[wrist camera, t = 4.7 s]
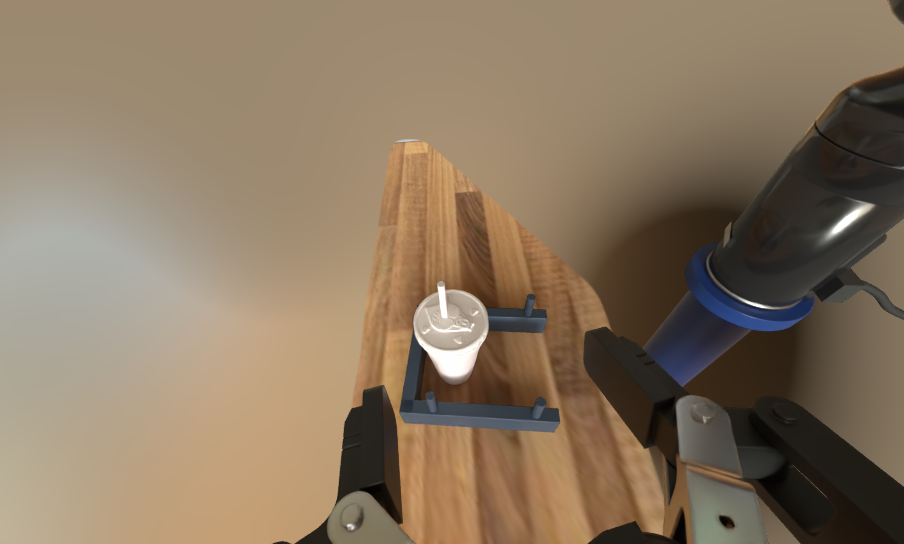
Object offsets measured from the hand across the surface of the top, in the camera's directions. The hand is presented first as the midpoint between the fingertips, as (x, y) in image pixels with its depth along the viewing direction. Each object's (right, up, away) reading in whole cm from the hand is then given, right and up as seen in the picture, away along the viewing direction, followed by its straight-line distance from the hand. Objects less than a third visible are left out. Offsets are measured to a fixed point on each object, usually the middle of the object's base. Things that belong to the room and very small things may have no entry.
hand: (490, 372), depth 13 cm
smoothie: (-1, -6, +23) cm, 24 cm away
